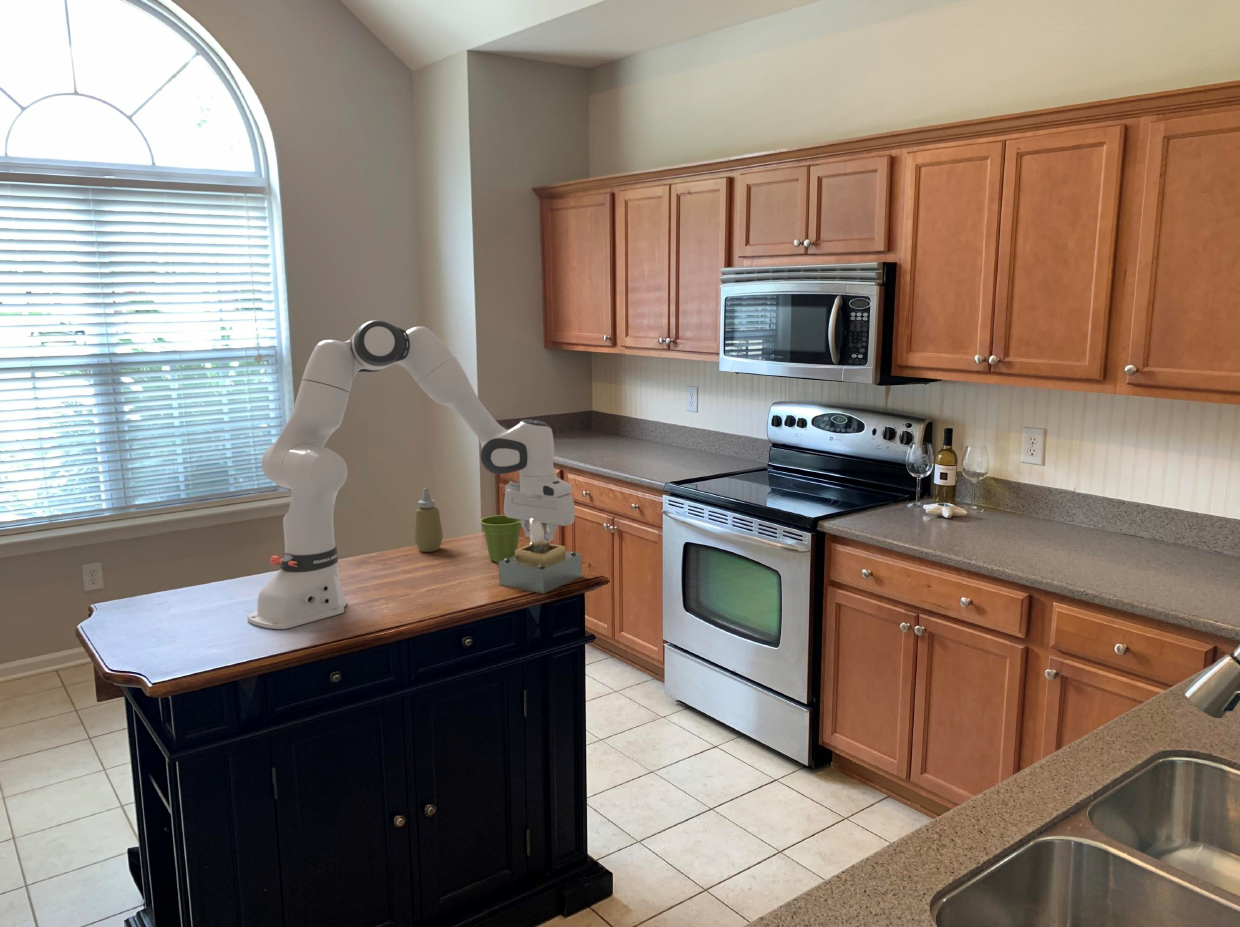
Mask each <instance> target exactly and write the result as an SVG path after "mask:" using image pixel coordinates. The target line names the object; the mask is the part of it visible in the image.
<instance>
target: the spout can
mask: <svg viewBox="0 0 1240 927" xmlns="http://www.w3.org/2000/svg"><path fill="white" fill-rule="evenodd" d="M549 529H550V528H548V523H541V522H540V520H537V519H530V518H529V534H530V537H529V545H530V551H531V552H537V553H545V552H547V551H550V544H551V541H548V540H545V533H548V531H549Z"/></svg>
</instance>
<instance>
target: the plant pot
mask: <svg viewBox="0 0 1240 927" xmlns="http://www.w3.org/2000/svg"><path fill="white" fill-rule="evenodd" d="M479 523H480V524H481V526H482V530H483V532H484V536H485V537H484V538H485V542H486V547H487V552H488V553H487V554H488V557H489V560H490V562H494V563H498V564H499V561H502V560H504V559H505V558H510V557H512V556H515V550H516V549H518V545H519V538H520V531H521V527H522V525H521V519H515V518H508V517H506V516H505V514H499V515H498V514H497V515H490V516H486V517H483V518H481V519H479Z"/></svg>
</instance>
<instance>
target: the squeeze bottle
mask: <svg viewBox="0 0 1240 927" xmlns="http://www.w3.org/2000/svg"><path fill="white" fill-rule="evenodd" d="M421 496H422V497H421V500H420V499H419V500H418V502H417V506H418V508H416V509H415V512H414V533H413V534H414V537H413V540H414V542H415V544H416V547H417V549H418V552H422V553H423V552H424V553H433V552H436V551H439V550H440V548H441V545H442V541H443V537H444V535H443V528H442V522H441V517H440V510H439V508H438V507H436V500H435V499H432V498H431V494H430V491H429V488H427V487H424V488H423V490H422V495H421Z"/></svg>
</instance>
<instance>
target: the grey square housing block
mask: <svg viewBox="0 0 1240 927" xmlns="http://www.w3.org/2000/svg"><path fill="white" fill-rule="evenodd" d="M582 559H583V558H582V553H577V551H566V546H565V545H561V544H560V545H559V544H553V543H550V551H547V552H545V553H537V552H531V551H530V544H528V545H525V546H522V547H519V548H517V549H516V550H515V556H512V557H510V558H505V559H504V560H502V561H499V563H498V580H499V582H498V583H499V586H504V587H508V588H514V589H519V590H523V591H529V592H535V593H539V594H547V593H548V592H550V591H553V590H555V589H558V588H560V587H562V586H564V585H566V584H568V583H570V582H574V581H575V580H577V579H579V578H580V579H581V578H582V577H583V566H582V565H583V564H582Z"/></svg>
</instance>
